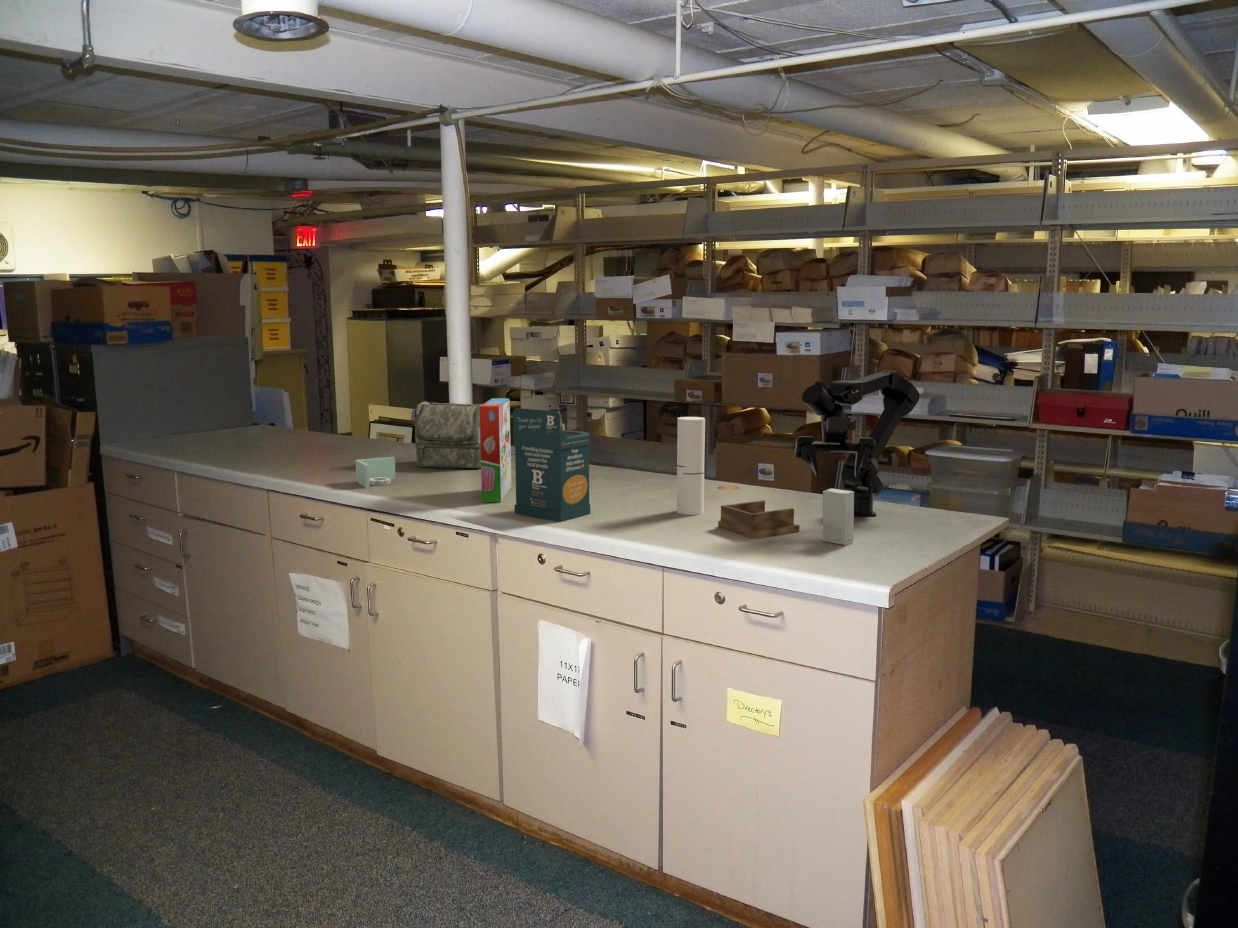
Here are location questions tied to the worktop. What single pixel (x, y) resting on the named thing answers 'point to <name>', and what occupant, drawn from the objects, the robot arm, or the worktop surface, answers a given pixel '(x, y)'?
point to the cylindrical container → (690, 465)
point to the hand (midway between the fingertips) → (836, 475)
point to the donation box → (550, 467)
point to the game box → (495, 449)
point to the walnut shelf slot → (757, 519)
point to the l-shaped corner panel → (375, 471)
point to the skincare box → (838, 516)
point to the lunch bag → (447, 435)
